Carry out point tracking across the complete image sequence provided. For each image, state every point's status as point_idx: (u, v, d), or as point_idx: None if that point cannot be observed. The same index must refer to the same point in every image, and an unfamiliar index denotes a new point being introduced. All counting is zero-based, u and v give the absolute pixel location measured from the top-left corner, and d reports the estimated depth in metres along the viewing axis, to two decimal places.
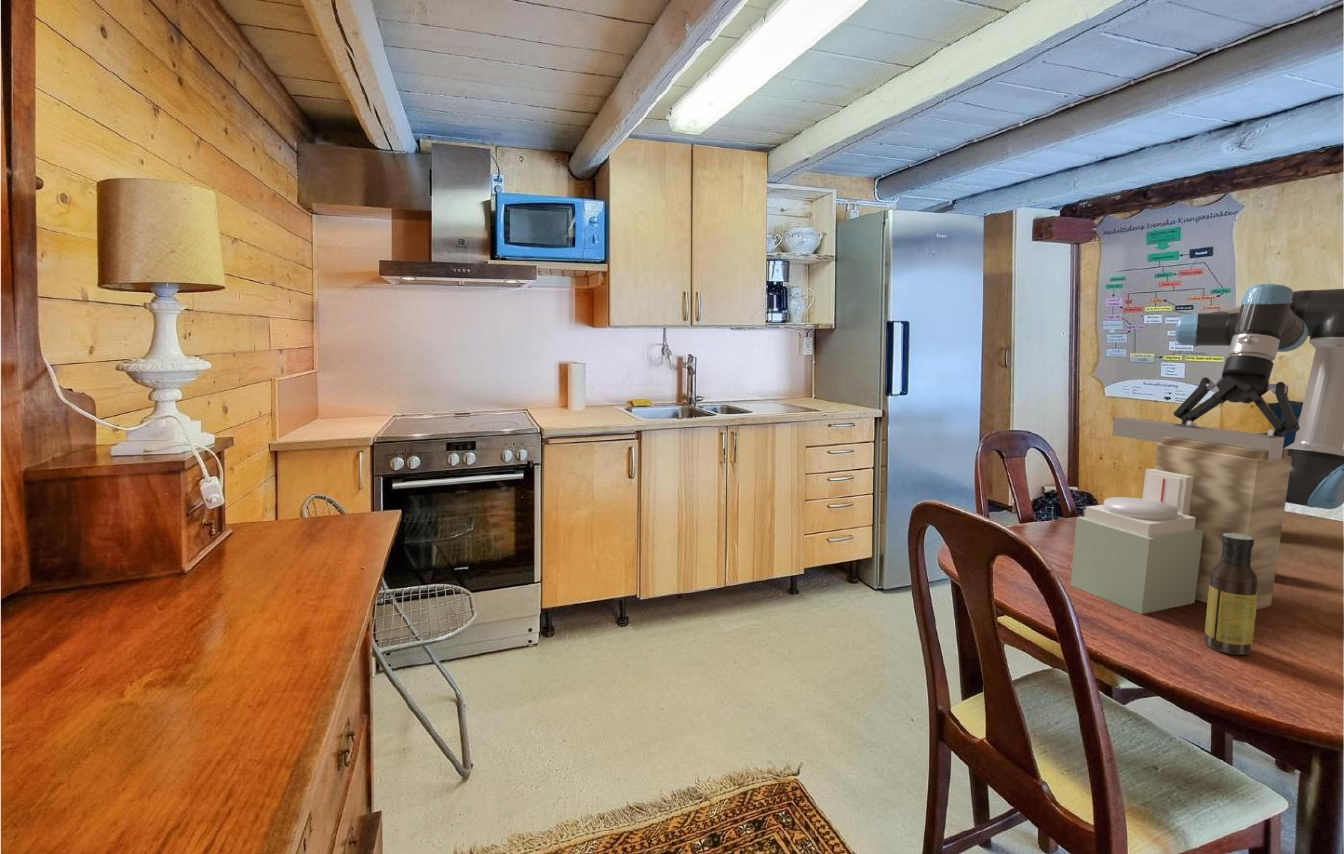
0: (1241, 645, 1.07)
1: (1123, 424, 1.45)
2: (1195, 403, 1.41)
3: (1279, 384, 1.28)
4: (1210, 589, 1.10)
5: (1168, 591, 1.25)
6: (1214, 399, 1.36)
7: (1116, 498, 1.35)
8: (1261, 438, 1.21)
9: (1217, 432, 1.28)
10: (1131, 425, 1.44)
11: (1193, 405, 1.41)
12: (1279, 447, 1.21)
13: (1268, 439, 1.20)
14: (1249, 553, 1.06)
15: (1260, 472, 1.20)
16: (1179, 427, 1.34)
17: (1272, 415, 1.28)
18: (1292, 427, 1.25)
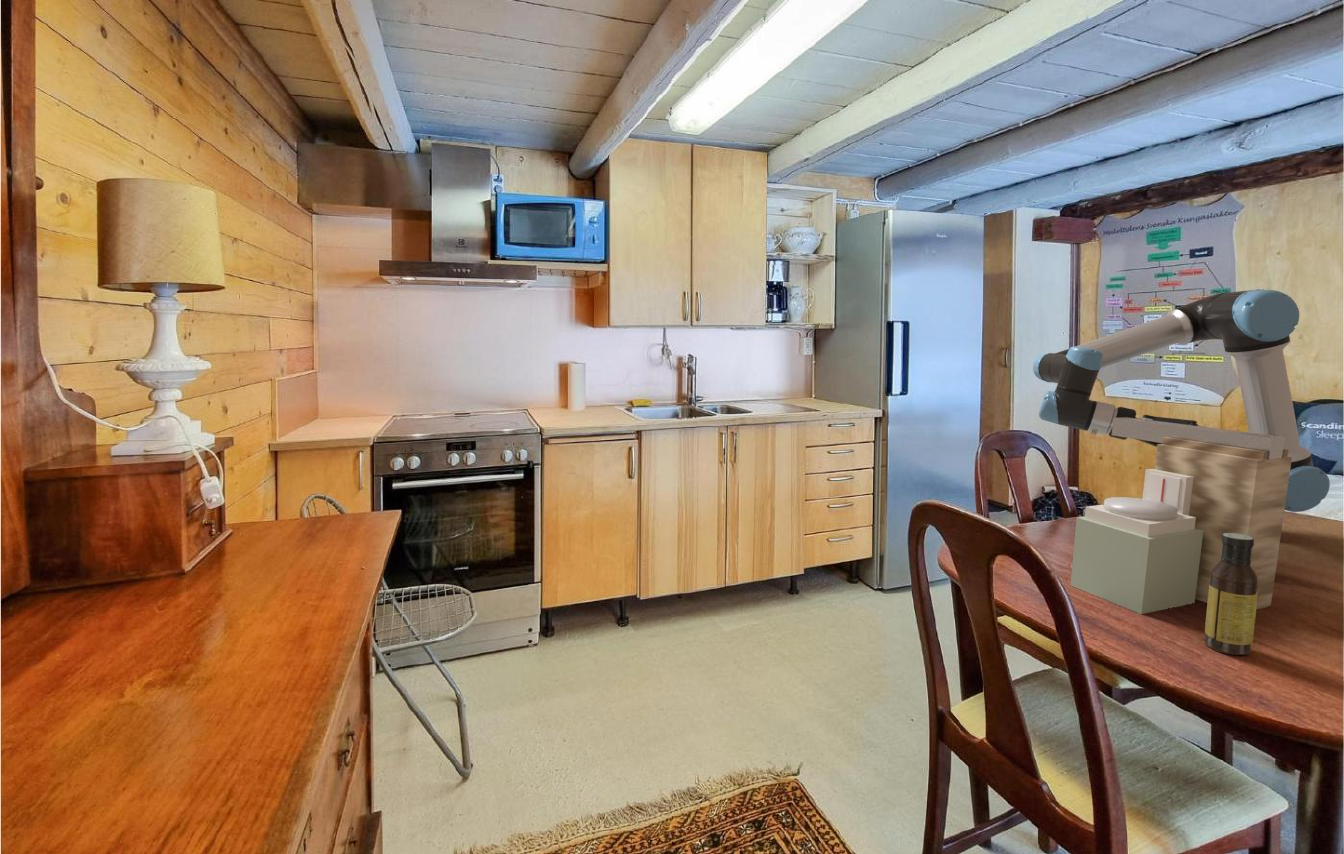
0: (1241, 645, 1.07)
1: (1123, 424, 1.45)
2: None
3: None
4: (1210, 589, 1.10)
5: (1168, 591, 1.25)
6: None
7: (1116, 498, 1.35)
8: (1262, 438, 1.21)
9: (1217, 432, 1.28)
10: (1130, 425, 1.44)
11: None
12: (1280, 447, 1.21)
13: (1269, 439, 1.20)
14: (1249, 553, 1.06)
15: (1260, 472, 1.20)
16: (1179, 427, 1.34)
17: None
18: None
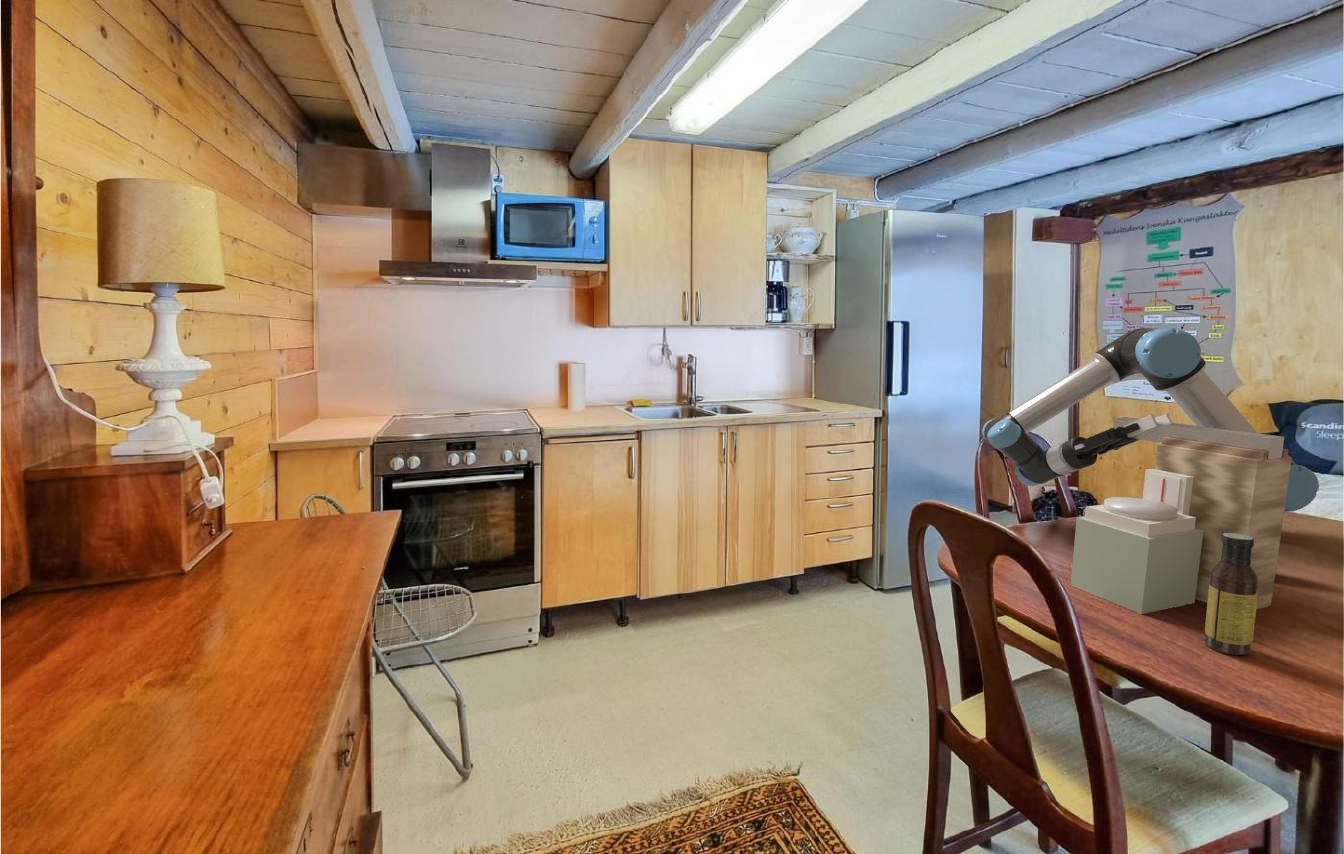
0: (1241, 645, 1.07)
1: (1123, 424, 1.45)
2: None
3: (1080, 452, 1.52)
4: (1210, 589, 1.10)
5: (1168, 591, 1.25)
6: (1116, 445, 1.51)
7: (1116, 498, 1.35)
8: (1261, 438, 1.21)
9: (1217, 432, 1.28)
10: None
11: None
12: (1279, 446, 1.21)
13: (1267, 439, 1.20)
14: (1249, 553, 1.06)
15: (1260, 472, 1.20)
16: (1179, 427, 1.34)
17: (1113, 441, 1.47)
18: (1116, 438, 1.44)
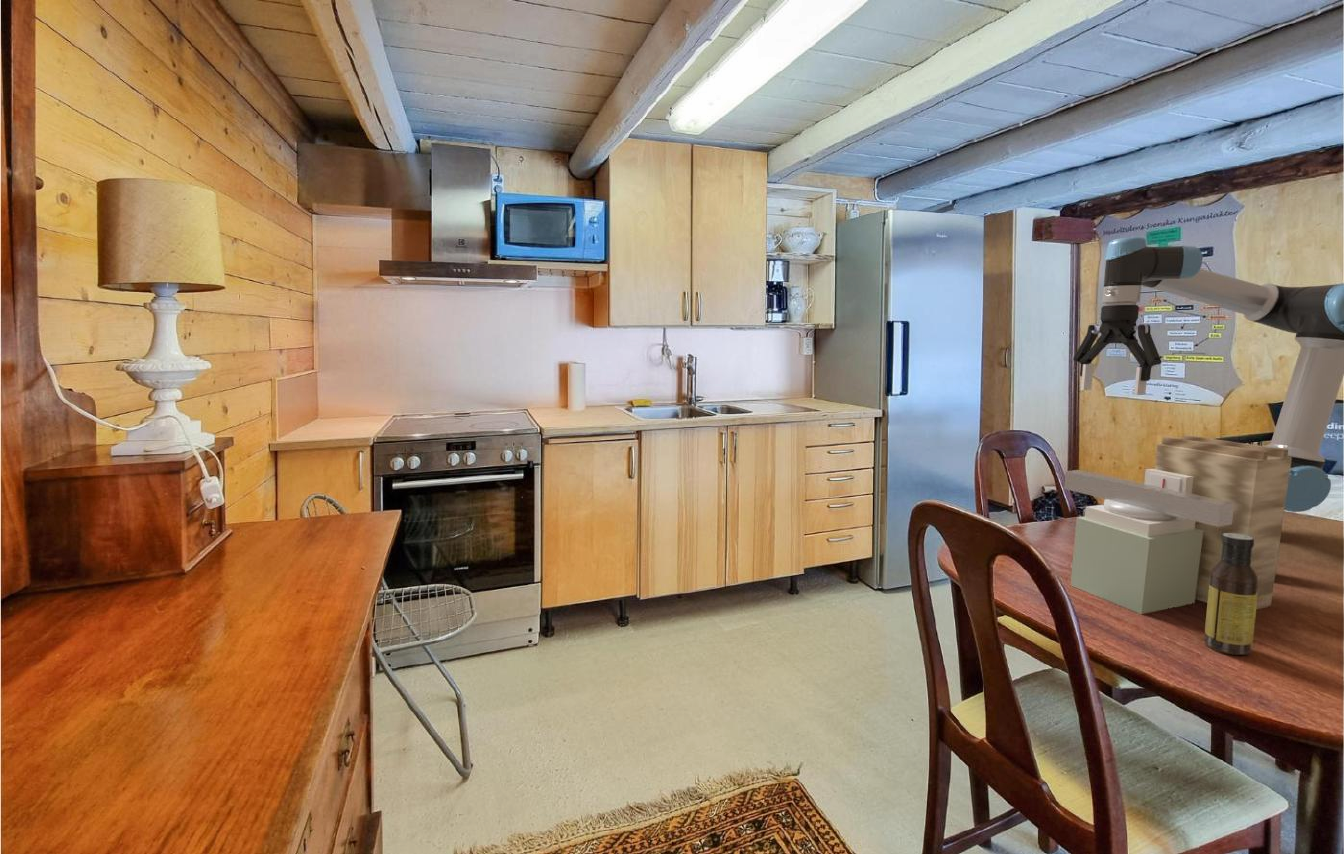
0: (1241, 645, 1.07)
1: (1075, 478, 1.41)
2: (1089, 347, 1.64)
3: (1139, 327, 1.50)
4: (1210, 589, 1.10)
5: (1168, 591, 1.25)
6: (1098, 344, 1.59)
7: None
8: (1211, 504, 1.16)
9: (1167, 494, 1.23)
10: (1082, 480, 1.39)
11: (1087, 349, 1.64)
12: (1230, 513, 1.16)
13: (1217, 506, 1.15)
14: (1249, 553, 1.06)
15: (1260, 472, 1.20)
16: (1130, 486, 1.30)
17: (1138, 354, 1.51)
18: (1152, 363, 1.48)
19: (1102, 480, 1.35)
